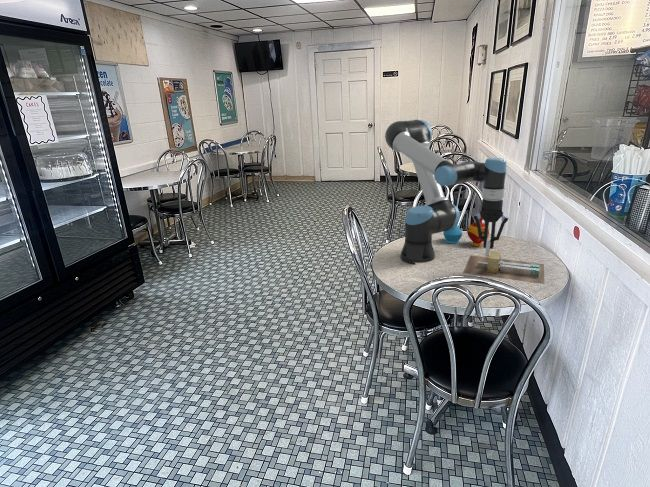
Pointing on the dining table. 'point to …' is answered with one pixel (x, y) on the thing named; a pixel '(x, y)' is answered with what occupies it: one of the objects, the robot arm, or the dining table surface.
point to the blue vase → (453, 235)
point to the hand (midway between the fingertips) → (487, 255)
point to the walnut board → (473, 269)
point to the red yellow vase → (476, 233)
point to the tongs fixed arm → (513, 269)
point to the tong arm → (519, 264)
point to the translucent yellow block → (493, 261)
